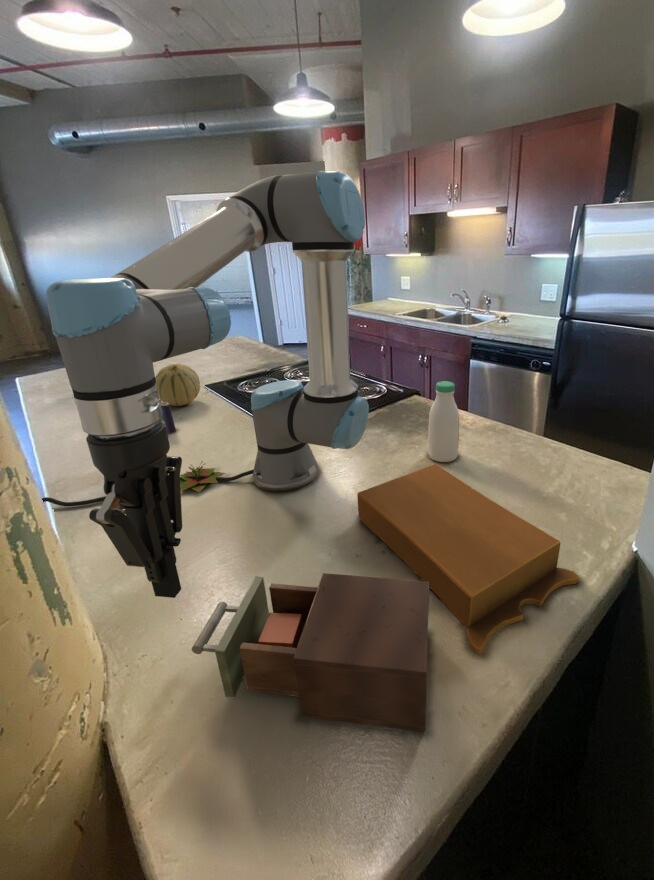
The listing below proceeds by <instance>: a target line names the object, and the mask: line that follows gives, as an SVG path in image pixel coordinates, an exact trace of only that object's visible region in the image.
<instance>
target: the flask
mask: <svg viewBox="0 0 654 880" xmlns="http://www.w3.org/2000/svg"><path fill="white" fill-rule="evenodd" d="M159 401H160V405H161V409H162V414H163V415H162V417H161V418H160V419H161V420H163V421H164V422H165V425H166V430H167V434H171V433H175V432H176V431H177V428H176V424H175V420H174V416H173V412H172V409H171V405H170V404H169V403H166V402H163V401H162V400H160V399H159Z"/></svg>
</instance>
